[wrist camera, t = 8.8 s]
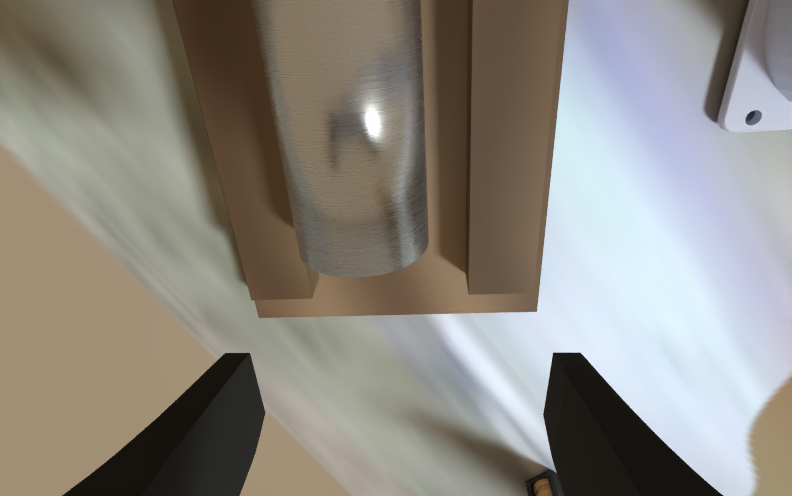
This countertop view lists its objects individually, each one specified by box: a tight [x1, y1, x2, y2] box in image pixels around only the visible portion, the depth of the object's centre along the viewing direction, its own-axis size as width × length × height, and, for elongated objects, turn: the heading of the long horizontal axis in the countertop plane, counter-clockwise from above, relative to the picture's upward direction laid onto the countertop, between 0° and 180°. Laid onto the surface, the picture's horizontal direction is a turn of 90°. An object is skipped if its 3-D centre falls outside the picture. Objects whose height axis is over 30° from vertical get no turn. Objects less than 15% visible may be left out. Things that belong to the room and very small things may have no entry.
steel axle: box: [251, 0, 429, 278], centre depth 13 cm, size 4×10×4 cm
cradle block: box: [173, 0, 569, 318], centre depth 16 cm, size 12×18×3 cm, turn 4°
